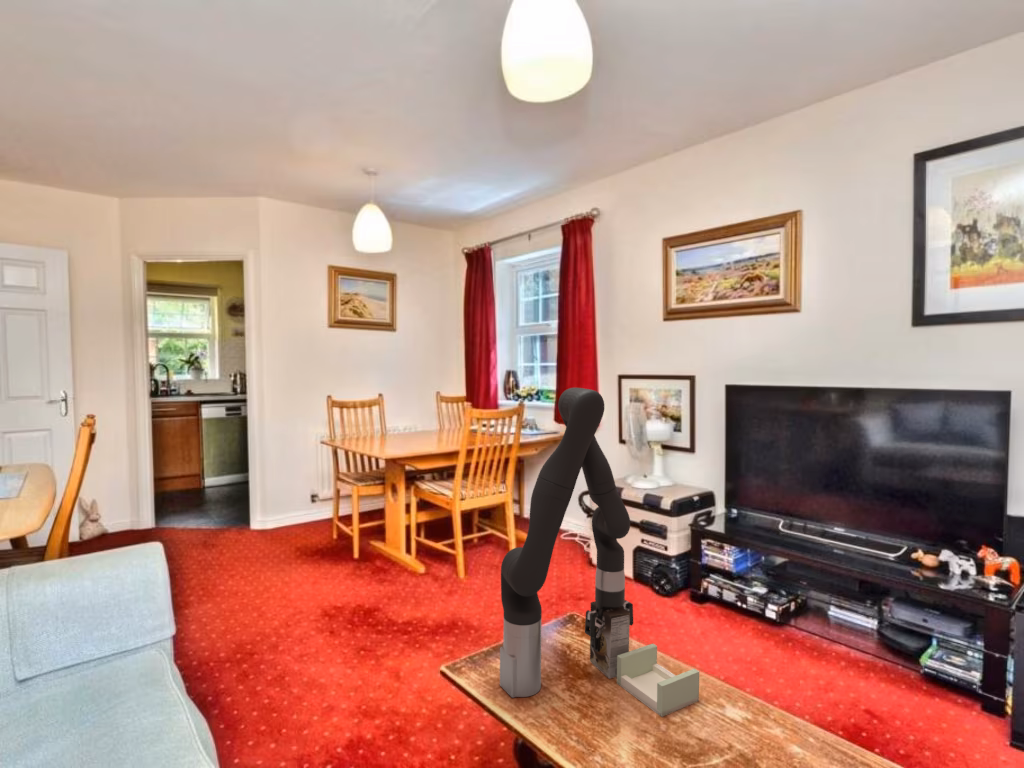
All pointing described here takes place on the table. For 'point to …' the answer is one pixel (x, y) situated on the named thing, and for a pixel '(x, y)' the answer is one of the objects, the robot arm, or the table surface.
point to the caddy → (656, 681)
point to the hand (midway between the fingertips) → (609, 646)
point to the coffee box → (611, 639)
